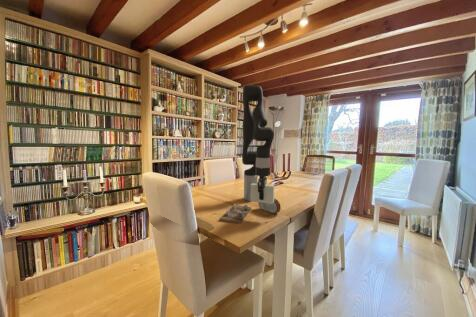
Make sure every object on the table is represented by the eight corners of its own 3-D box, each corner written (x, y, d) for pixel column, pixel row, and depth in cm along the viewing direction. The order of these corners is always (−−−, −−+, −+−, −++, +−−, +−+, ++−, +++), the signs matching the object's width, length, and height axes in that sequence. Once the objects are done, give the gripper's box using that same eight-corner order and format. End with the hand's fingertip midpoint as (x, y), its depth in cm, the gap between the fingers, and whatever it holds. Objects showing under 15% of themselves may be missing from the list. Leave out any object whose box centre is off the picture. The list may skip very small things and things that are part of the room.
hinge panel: (233, 207, 124) (233, 200, 124) (251, 209, 121) (251, 202, 120) (219, 220, 104) (219, 212, 103) (240, 223, 100) (240, 215, 100)
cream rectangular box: (251, 199, 111) (252, 183, 110) (274, 201, 107) (274, 185, 106) (250, 201, 108) (250, 184, 106) (273, 203, 104) (273, 186, 103)
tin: (280, 214, 113) (281, 199, 112) (277, 215, 111) (277, 200, 110) (260, 207, 124) (260, 194, 123) (257, 208, 122) (257, 195, 121)
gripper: (258, 164, 113) (258, 194, 115) (252, 167, 100) (252, 201, 102) (272, 164, 111) (271, 195, 113) (267, 168, 97) (266, 203, 99)
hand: (262, 198), depth 107 cm, fingers closed on cream rectangular box, 3 cm apart
